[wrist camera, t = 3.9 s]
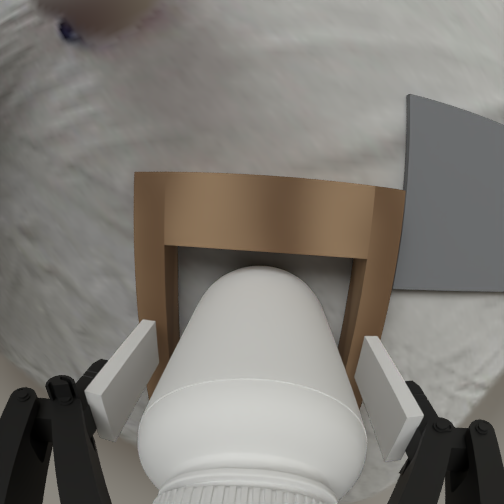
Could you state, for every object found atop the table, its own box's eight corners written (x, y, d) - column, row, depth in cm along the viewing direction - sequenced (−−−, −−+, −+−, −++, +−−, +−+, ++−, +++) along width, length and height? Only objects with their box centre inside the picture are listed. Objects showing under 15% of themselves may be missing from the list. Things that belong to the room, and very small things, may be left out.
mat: (389, 286, 18) (392, 288, 18) (406, 95, 15) (409, 93, 15) (512, 289, 18) (516, 291, 17) (530, 139, 15) (534, 138, 14)
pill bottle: (220, 383, 21) (174, 582, 6) (180, 279, 19) (31, 473, 4) (332, 359, 20) (387, 568, 5) (308, 247, 18) (411, 464, 3)
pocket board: (164, 412, 22) (155, 433, 19) (151, 172, 17) (134, 171, 15) (340, 425, 21) (345, 447, 19) (388, 188, 17) (405, 190, 14)
